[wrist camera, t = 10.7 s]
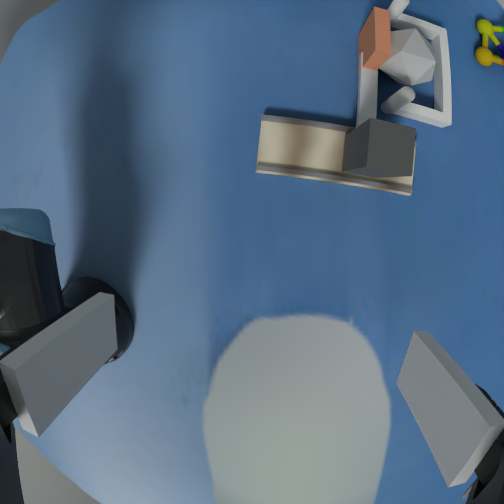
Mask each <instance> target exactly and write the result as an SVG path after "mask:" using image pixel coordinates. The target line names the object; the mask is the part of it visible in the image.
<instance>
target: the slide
mask: <svg viewBox="0 0 504 504" xmlns="http://www.w3.org/2000/svg"><path fill="white" fill-rule="evenodd" d="M261 120H262V122H261V131H260V140H259V149H258V158H257V165H256V173H265V174H274V175H283V176H291V177H299V178H306V179H314V180H321V181H328V182H334V183H341V184H347V185H353V186H359V187H365V188H371V189H377V190H382V191H388V192H393V193H398V194H403V195H409V196H411V194H413V189H412V181H413V172H412V176H404V177H385V178H374V177H368V176H363V175H357V174H351V173H345V172H341V171H342V161H343V151H344V140H345V135H347V134H348V133H349V132H351V131H352V130H354V129H355V127H349V126H344V125H338V124H332V123H326V122H320V121H313V120H306V119H298V118H290V117H282V116H272V115H262V119H261ZM415 147H417V142H416V141H415ZM415 147H414V160H415ZM413 171H414V161H413Z"/></svg>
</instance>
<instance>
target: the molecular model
mask: <svg viewBox="0 0 504 504" xmlns="http://www.w3.org/2000/svg"><path fill="white" fill-rule="evenodd" d="M476 26H477V30H478V31H479V33H480V34H482V47H479V48H477V49H476V52H475V57H476V59H477V61H478V62H479V63H480V64H481V65H483V66H490V65H491V64H492V63H493V62H494V63H497V64H500V65H503V66H504V47H503V46H502V45H501V43H500V42H499V41H498V39H497V38H496V37H495V35H494V32H504V27H502V26H493V25H492V24H491V23H490V22H489V21H488V20H485V19H481V20H479V21H478V22H477V25H476ZM488 37H490V38H491V40H492V41H493V42H494V44H495V45H496V46H497V48H498V49H499V50H500V52H501V53H502V54H503V56H502V57H501V56H496V55H493V54H492V52H491V51H490V50H489V49H488Z"/></svg>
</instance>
